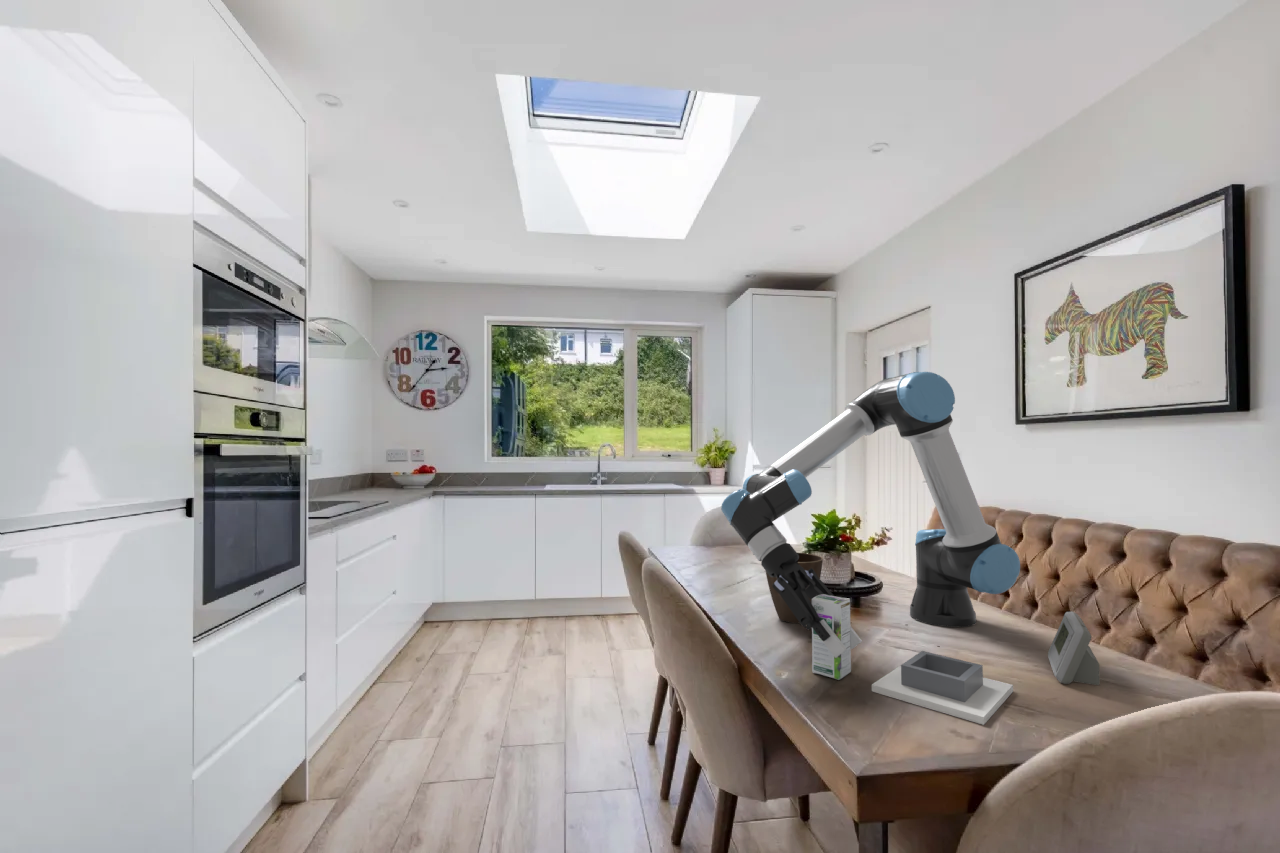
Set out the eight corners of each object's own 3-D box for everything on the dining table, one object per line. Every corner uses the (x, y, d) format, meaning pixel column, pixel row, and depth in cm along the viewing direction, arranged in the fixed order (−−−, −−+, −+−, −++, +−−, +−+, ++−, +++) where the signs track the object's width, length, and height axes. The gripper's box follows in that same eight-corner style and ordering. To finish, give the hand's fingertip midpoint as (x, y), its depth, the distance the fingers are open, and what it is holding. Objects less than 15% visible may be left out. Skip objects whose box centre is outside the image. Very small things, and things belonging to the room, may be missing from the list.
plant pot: (761, 610, 158) (761, 551, 158) (818, 612, 156) (817, 552, 156) (766, 626, 143) (765, 561, 143) (828, 629, 141) (827, 563, 141)
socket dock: (909, 665, 117) (909, 641, 117) (1013, 691, 104) (1012, 665, 104) (871, 691, 104) (871, 664, 105) (983, 725, 92) (983, 694, 92)
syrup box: (811, 673, 113) (810, 598, 113) (824, 664, 117) (823, 592, 118) (839, 681, 109) (838, 603, 110) (852, 672, 113) (851, 597, 114)
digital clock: (1049, 657, 122) (1047, 606, 122) (1104, 668, 116) (1102, 614, 116) (1037, 680, 110) (1035, 623, 110) (1097, 693, 104) (1095, 633, 104)
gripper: (786, 557, 131) (858, 648, 119) (737, 569, 118) (812, 673, 106) (807, 536, 128) (883, 627, 116) (759, 546, 115) (839, 650, 102)
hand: (849, 649), depth 111 cm, fingers closed on syrup box, 6 cm apart
